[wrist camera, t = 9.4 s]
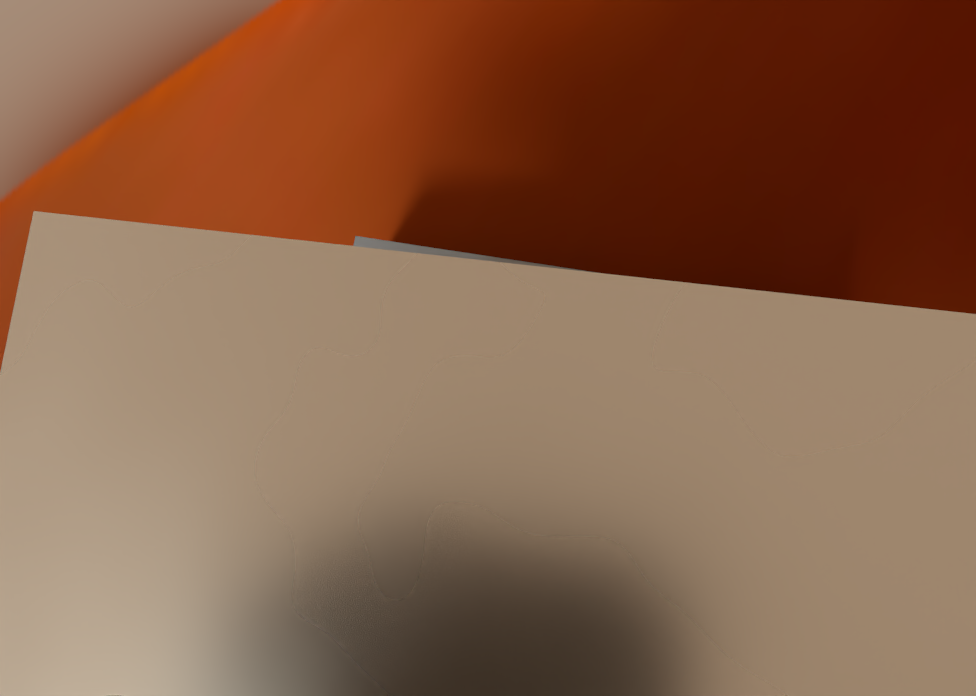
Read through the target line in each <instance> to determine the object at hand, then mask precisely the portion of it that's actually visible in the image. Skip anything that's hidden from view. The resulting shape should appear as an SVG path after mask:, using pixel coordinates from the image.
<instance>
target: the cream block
mask: <svg viewBox="0 0 976 696" xmlns="http://www.w3.org/2000/svg"><path fill="white" fill-rule="evenodd" d="M0 696H976V314H970V313H960V312H951V311H942V310H933V309H924V308H915V307H906V306H896V305H887V304H878V303H869V302H860V301H851V300H842V299H832V298H823V297H814V296H805V295H796V294H787V293H777V292H768V291H759V290H750V289H741V288H732V287H723V286H713V285H704V284H695V283H686V282H677V281H668V280H659V279H649V278H640V277H631V276H622V275H613V274H604V273H595V272H585V271H576V270H567V269H558V268H549V267H540V266H531V265H521V264H512V263H503V262H494V261H485V260H476V259H467V258H457V257H448V256H439V255H430V254H421V253H412V252H403V251H393V250H384V249H375V248H366V247H357V246H348V245H338V244H329V243H320V242H311V241H302V240H293V239H284V238H274V237H265V236H256V235H247V234H238V233H229V232H220V231H210V230H201V229H192V228H183V227H174V226H165V225H156V224H146V223H137V222H128V221H119V220H110V219H101V218H92V217H82V216H73V215H64V214H55V213H46V212H37V211H34V212H33V217H32V222H31V227H30V232H29V237H28V241H27V246H26V251H25V256H24V261H23V265H22V270H21V275H20V280H19V285H18V290H17V294H16V299H15V304H14V309H13V314H12V319H11V323H10V328H9V333H8V338H7V343H6V348H5V352H4V357H3V362H2V367H1V372H0Z"/></svg>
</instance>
